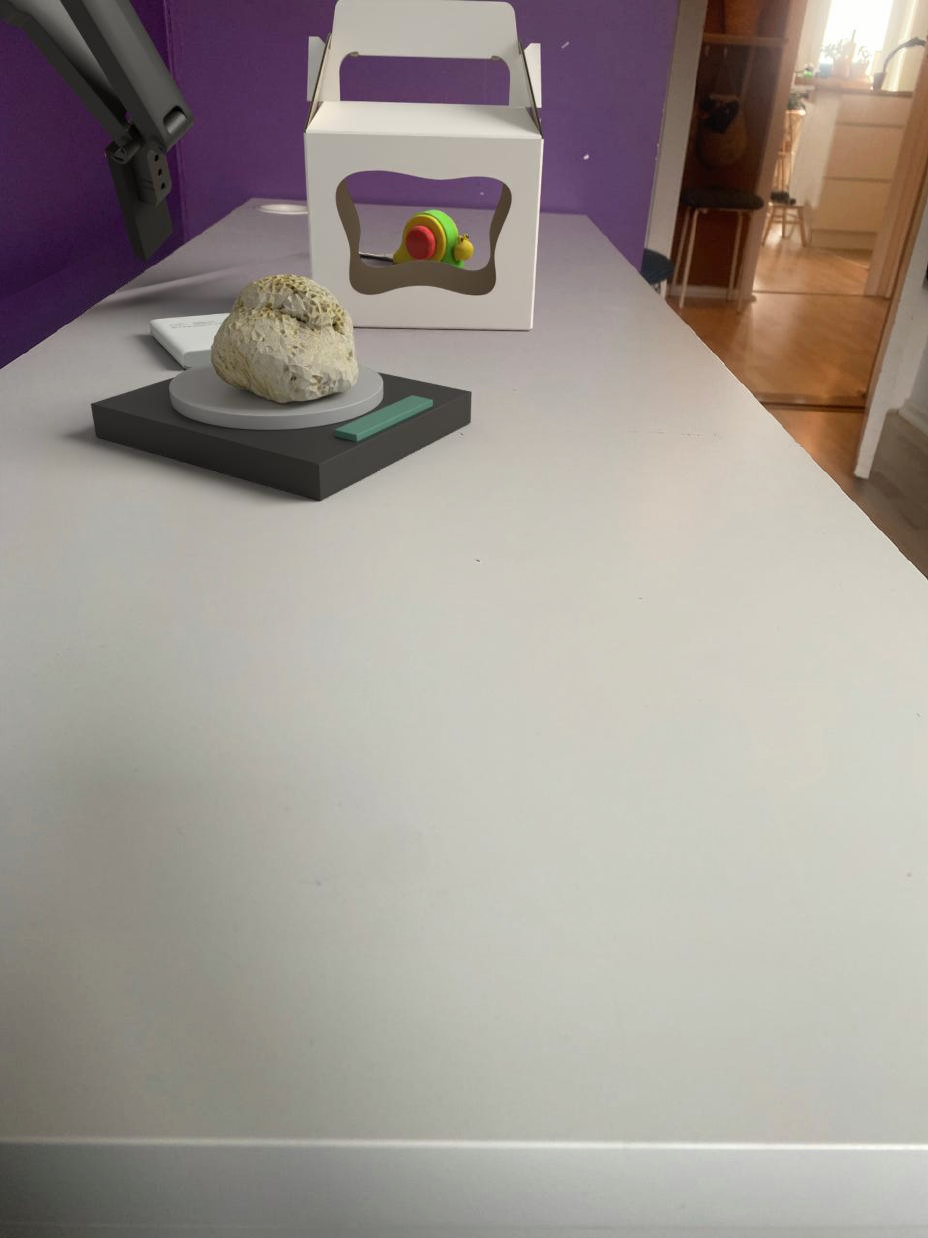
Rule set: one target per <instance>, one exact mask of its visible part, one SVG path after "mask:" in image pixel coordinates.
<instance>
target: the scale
mask: <svg viewBox="0 0 928 1238" xmlns="http://www.w3.org/2000/svg"><path fill="white" fill-rule="evenodd" d="M357 364H358V377H357V381H356V384H355V385H354V386H353V387H352V388H350V389H347V390H346V391H344V392H336V393H333V394H328V395H325V396H322V397H320V398H318V399H312V400H306V401H294V402H290V403H286V404H284V403H277V402H275V401H274V400H267V399H266V398H263V397H261V396H259V395H256V394H255V393H253V392H250V391H249V390H240V389H238V388H236V387H234V386H232V385H230V384H228V383H226V382H225V381H223V380H222V379H221V378H220V377H219V376H218V375H217V374H216V371H215V368H214V366H213V364H212V362H207V363H203V364H200V365H197V366H194V367H192V368H189V369H185V370H182V371H181V372H180V373H178V374H176V376H174V377H170V378H167V379H164V380H161V381H158V382H155V383H152V384H149V385H146V386H142V387H139V388H136V389H133V390H130V391H126V392H123V393H120V394H116V395H114V396H111V397H108V398H104V399H101V400H98V401H94V402H92V403H90V408H91V415H92V421H93V427H94V432H95V433H94V434H95V437H97V438H100V439H103V440H106V441H110V442H114V443H117V444H120V445H124V446H127V447H131V448H135V449H138V450H140V451H141V450H142V451H145V452H149V453H153V454H154V455H155V454H156V455H159V456H163V457H165V458H170V459H172V460H173V459H174V460H177V461H181V462H184V463H187V464H191V465H194V466H198V467H201V468H205V469H209V470H210V471H211V470H212V471H216V472H219V473H222V474H225V475H230V476H233V477H235V478H240V479H243V480H246V481H250V482H253V483H257V484H260V485H264V486H267V487H271V488H274V489H278V490H282V491H285V492H289V493H291V494H295V495H299V496H302V497H305V498H309V499H313V500H316V501H320V502H321V501H323V500H325V499H327V498H329V497H331V496H333V495H335V494H336V493H338V492H340V491H343V490H344V489H346V488H348V487H350V486H352V485H354V484H356V483H358V482H360V481H361V480H363V479H365V478H367V477H369V476H371V475H373V474H375V473H376V472H379V471H382V469H384V468H386V467H389V466H390V465H392V464H395V463H396V462H398V461H400V460H402V459H403V458H406V457H407V456H410V455H411V454H414V453H415V452H417V451H419V450H421V449H423V448H425V447H428V445H431V444H433V443H435V442H436V441H438V440H441V439H442V438H444V437H446V436H448V435H450V434H452V433H453V432H456V431H458V430H459V429H461V428H463V427H465V426H467V425H469V424H471V422H472V397H473V396H472V395H473V394H472V391H471V390H467V389H461V388H456V387H451V386H447V385H441V384H437V383H432V382H427V381H422V380H418V379H414V378H413V379H412V378H408V377H404V376H403V377H402V376H399V375H392V374H389V373H383V372H380V371H379V372H378V371H376V370H374V369H373V368H371V367H369V366H367V365H364V364H362V363H359V362H357Z"/></svg>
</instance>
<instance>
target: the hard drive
mask: <svg viewBox="0 0 928 1238" xmlns="http://www.w3.org/2000/svg"><path fill="white" fill-rule="evenodd" d="M230 313H231V312H224V313H214V314H203V315H191V316H177V317H167V318H166V317H165V318H156V319H151V320H150V321H149V330H150V332H149V333H150V335H152V336H153V338H154V339H155V340H156V341H157V342H158V343H159V344H160V346H162V348H164V349H165V350H166V352H168V353H169V354H170V355H171V356H172V357H173V358H174V360H176V361H177V363H178V364H179V365H180V366H181V367H182V368H183V369H185V370H187V369H189V368H192V367H194V366H197V365H200V364H203V363H207V362H211V353H212V352H211V346H212V344H213V341H214V336H215V335H216V334H217V332H218V330H219V328H220V326H221V324H222V323H223V321H224V320H225V319H226V318H227V317H228V316H229V315H230Z"/></svg>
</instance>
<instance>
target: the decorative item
mask: <svg viewBox="0 0 928 1238" xmlns="http://www.w3.org/2000/svg"><path fill="white" fill-rule="evenodd" d="M229 313H230V315H229V316H228V317H227V318H226V319H225V320H224V321H223V323H222V324H221V326H220V328H219V330H218V332H217V334H216V335H215V336H214V341H213V344H212V346H211V352H212V353H211V362H212V364H213V366H214V368H215V371H216V374H217V375H218V376H219V377H220V378H221V379H222V380H223V381H225V382H226V383H228V384H230V385H232V386H234V387H236V388H238V389H240V390H249V391H250V392H253V393H255V394H256V395H259V396H261V397H263V398H266V399H267V400H274V401H275V402H277V403H284V404H286V403H290V402H294V401H306V400H312V399H318V398H320V397H322V396H325V395H328V394H333V393H336V392H344V391H346V390H347V389H350V388H352V387H353V386H354V385H355V384H356V381H357V377H358V364H357V363H358V361H357V357H356V346H355V339H354V331H355V330H354V327H353V324H352V321H351V318H350V316H349V314H348V312H347V311H346V310H345V308H344V307H343V306H341V305H340V304H339V302H338V301H337V299H336V298H335V297H334V296H333V294H332V293H331V292H329V290H328V289H327V288H325V287H323V286H322V285H320V284H318V283H317V282H315V281H313V280H311V278H309V277H306V276H301V275H296V274H290V273H289V274H274V275H268V276H265V277H261V278H258V279H255V280H252V281H250V282H248V283H247V284H246V285H245V286H244V287H243V288H242V290H241V292H240V293H239V294H238V295H237V297H236V299H235V301H234V302H233V305H232V307H231V309H230V312H229Z"/></svg>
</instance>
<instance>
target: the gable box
mask: <svg viewBox="0 0 928 1238" xmlns="http://www.w3.org/2000/svg"><path fill="white" fill-rule="evenodd" d="M332 23H333V24H332V32H329V33H328V35H327V37H326V41H325V42H324V41H323V40H322V38H321V37H320V36H308V57H307V58H308V59H307V85H306V86H307V87H306V88H307V89H306V102H310V106H309V110H308V112H307V117H306V120H305V121H306V122H305V125H304V129H303V146H304V148H303V149H304V168H305V169H304V171H305V186H306V187H305V189H306V190H305V191H306V208H307V209H306V210H307V230H308V232H307V233H308V250H309V251H308V252H309V270H310V279H311V280H313V281H315V282H317V283H318V284H320V285H322V286H323V287H325V288H327V289H328V290H329V292H331V293H332V294H333V296H334V297H335V298H336V299H337V301H338V302H339V304H340V305H341V306H343V307H344V308H345V310H346V311H347V312H348V314H349V316H350V318H351V321H352V324H353V328H373V329H374V328H375V329H376V328H378V329H380V328H381V329H422V330H423V329H425V330H427V329H428V330H429V329H430V330H431V329H432V330H478V331H481V330H482V331H484V330H485V331H524V332H525V331H531V330H533V327H534V309H535V292H536V276H537V275H536V273H537V259H538V243H539V242H538V241H539V225H540V224H539V223H540V211H541V210H540V209H541V207H540V206H541V191H542V175H543V173H542V172H543V157H544V143H545V138H544V133H543V128H542V125H541V120H540V116H539V112H538V108H540V109H541V108H542V107H543V106H542V65H541V64H542V62H541V55H542V54H541V43H540V42H539V43H537V42H530V43H529V44H528V46H526V47H525V48H524V44H523V42H522V39H521V38H518V31H517V20H516V11H515V10H514V7H513V6H512V5H511V4H510V3H509V2H507V1H492V0H491V1H487V0H337V2H336V4H335V8H334V14H333V22H332ZM347 56H349V57H352V58H359V57H360V56H369V57H370V56H371V57H403V58H404V57H407V58H408V57H409V58H437V59H438V58H440V59H441V58H442V59H472V60H474V59H475V60H490V61H491V62H499V61H503V62H504V64H505V65H506V68H507V69H508V74H509V85H508V105H504V104H503V105H499V104H495V105H494V104H470V103H469V104H467V103H466V104H463V103H462V104H461V103H431V102H430V103H429V102H428V103H427V102H396V101H395V102H394V101H393V102H391V101H359V100H358V101H357V100H355V101H354V100H341V74H340V73H341V72H340V70H341V65H342V63H343V61H344V60H345V58H346V57H347ZM369 171H370V172H371V171H372V172H373V171H383V172H392V173H398V174H403V175H409V176H412V177H417V178H423V179H427V180H430V179H431V180H436V181H437V180H440V181H441V180H443V181H444V180H455V179H462V178H473V177H480V178H481V177H484V178H491V179H495V180H498V181H500V182H502V190H501V193H500V196H499V197H500V198H499V201H498V203H497V206H496V208H495V210H494V213H493V216H492V219H491V222H490V226H489V234H488V235H489V251H490V253H489V259H488V262H487V263H486V265H485V266H483V267H482V268H480V269H474V270H472V269H471V270H470V269H465V268H463V267H462V268H459V267H456V266H453V265H450V264H447V263H443V262H438V261H430V260H415V261H409V262H404V263H400V264H392V265H386V266H372V265H369V264H367V263H365V262H364V261H363V260H362V258H361V254H359V252H360V240H361V222H360V217H359V214H358V210H357V208H356V205H355V203H354V199H353V198H352V196H351V192H350V190H349V187H348V184H347V177H348V176H351V175H352V174H355V173H360V172H369Z"/></svg>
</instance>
